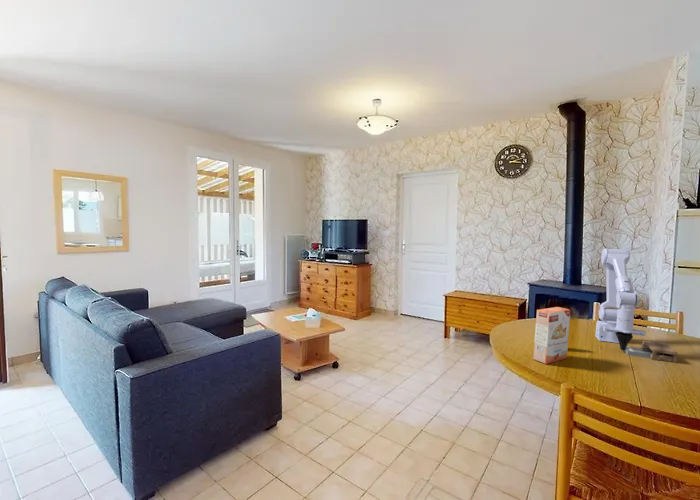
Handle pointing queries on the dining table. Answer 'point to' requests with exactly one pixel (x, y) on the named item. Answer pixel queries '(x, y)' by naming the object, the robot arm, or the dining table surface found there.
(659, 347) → the shelf
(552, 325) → the cracker box
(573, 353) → the dining table surface
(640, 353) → the tile
